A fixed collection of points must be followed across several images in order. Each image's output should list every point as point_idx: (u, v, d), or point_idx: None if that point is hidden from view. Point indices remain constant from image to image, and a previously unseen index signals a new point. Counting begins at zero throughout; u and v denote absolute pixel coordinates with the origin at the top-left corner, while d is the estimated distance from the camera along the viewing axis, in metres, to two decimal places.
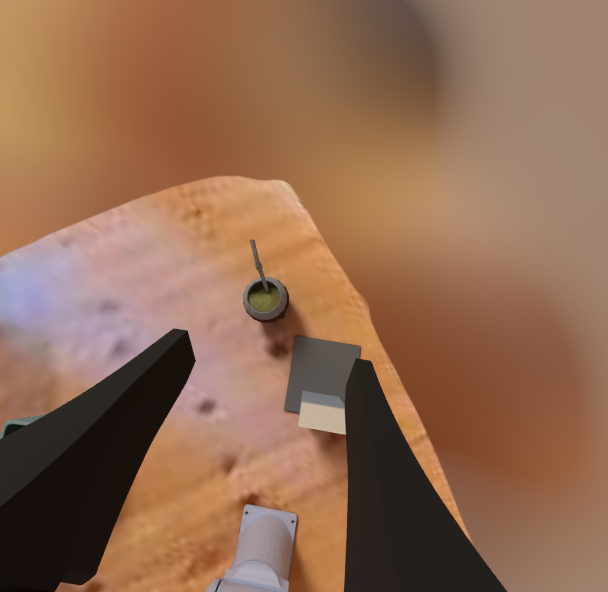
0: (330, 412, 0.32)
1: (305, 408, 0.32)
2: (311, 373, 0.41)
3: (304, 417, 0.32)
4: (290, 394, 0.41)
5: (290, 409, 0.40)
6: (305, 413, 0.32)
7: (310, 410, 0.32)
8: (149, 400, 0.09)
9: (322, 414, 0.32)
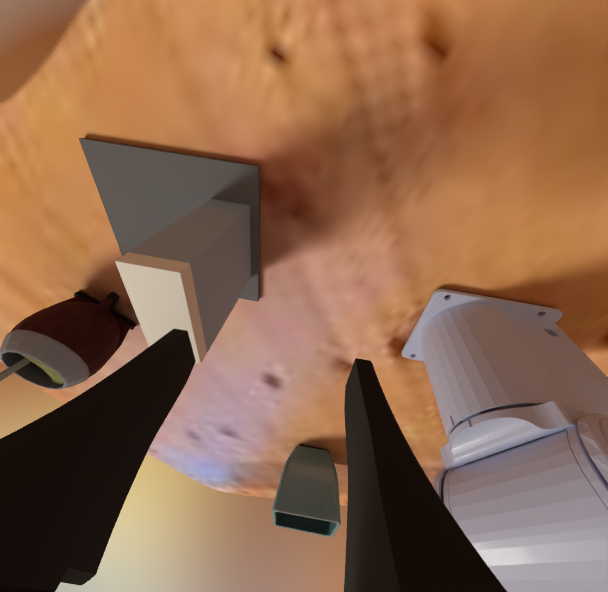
0: (142, 304, 0.12)
1: None
2: None
3: None
4: None
5: (255, 291, 0.22)
6: None
7: None
8: (149, 400, 0.09)
9: (155, 320, 0.12)
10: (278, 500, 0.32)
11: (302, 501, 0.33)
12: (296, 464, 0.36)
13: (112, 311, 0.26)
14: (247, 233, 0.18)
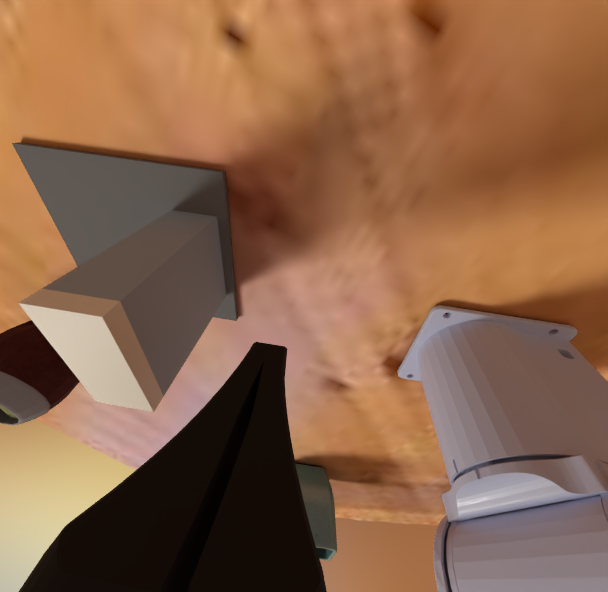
0: (67, 350, 0.09)
1: (102, 397, 0.11)
2: None
3: (125, 400, 0.11)
4: None
5: (232, 310, 0.20)
6: (114, 398, 0.11)
7: (100, 389, 0.11)
8: (247, 417, 0.09)
9: (89, 367, 0.10)
10: None
11: None
12: None
13: None
14: (216, 248, 0.16)
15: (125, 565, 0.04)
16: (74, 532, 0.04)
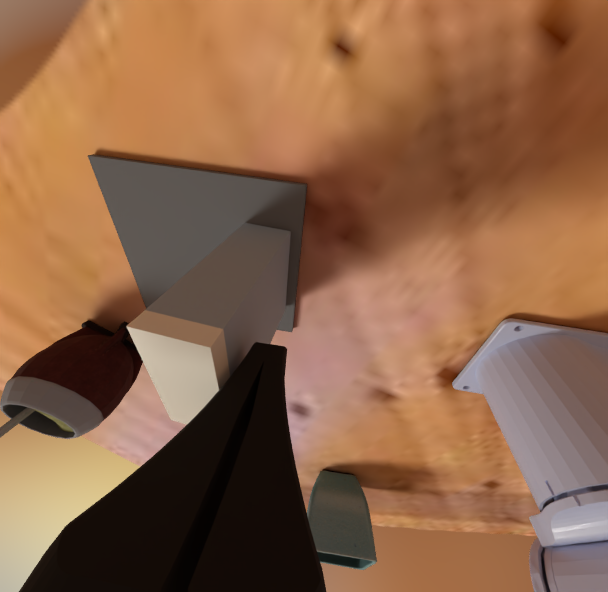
0: (160, 373, 0.09)
1: (179, 416, 0.11)
2: None
3: None
4: None
5: (289, 322, 0.19)
6: (191, 419, 0.11)
7: (179, 409, 0.11)
8: (247, 417, 0.09)
9: (176, 390, 0.10)
10: None
11: (333, 537, 0.30)
12: (323, 493, 0.34)
13: (124, 341, 0.24)
14: (286, 264, 0.15)
15: (125, 565, 0.04)
16: (74, 531, 0.04)
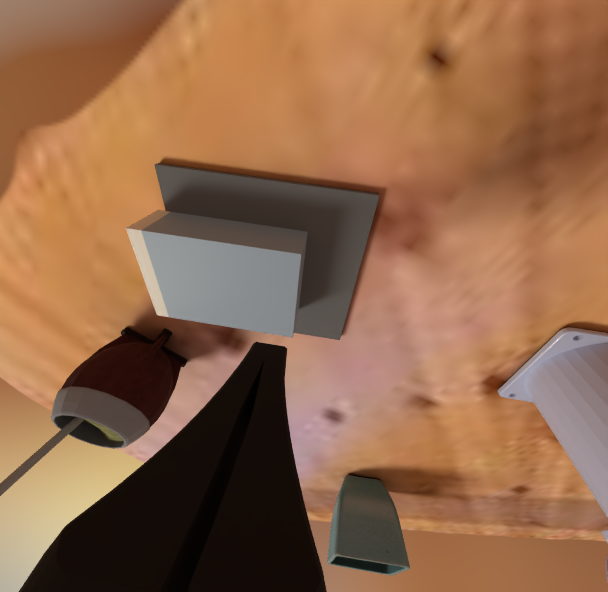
0: None
1: None
2: None
3: None
4: (309, 329, 0.19)
5: (338, 330, 0.19)
6: None
7: None
8: (247, 417, 0.09)
9: None
10: (339, 542, 0.30)
11: (365, 543, 0.30)
12: (351, 498, 0.34)
13: (162, 348, 0.24)
14: (287, 283, 0.13)
15: (125, 565, 0.04)
16: (74, 532, 0.04)
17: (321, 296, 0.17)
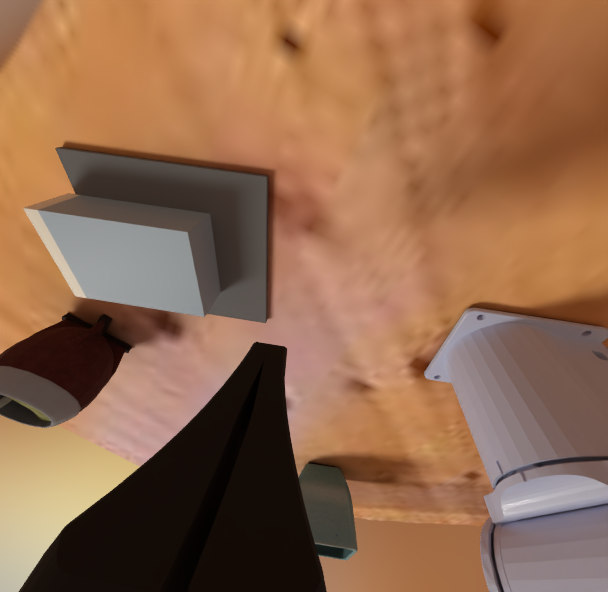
0: None
1: None
2: None
3: None
4: (234, 312, 0.20)
5: (262, 313, 0.20)
6: None
7: None
8: (247, 417, 0.09)
9: None
10: None
11: (315, 527, 0.31)
12: (307, 484, 0.34)
13: (105, 334, 0.24)
14: (183, 261, 0.14)
15: (125, 565, 0.04)
16: (74, 532, 0.04)
17: (238, 278, 0.18)
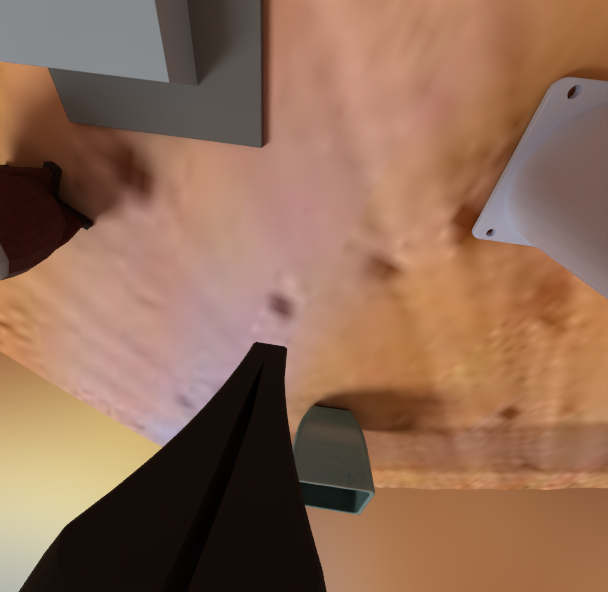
0: None
1: None
2: None
3: None
4: (218, 129, 0.15)
5: (256, 126, 0.14)
6: None
7: None
8: (247, 417, 0.09)
9: None
10: None
11: (323, 467, 0.25)
12: (313, 425, 0.29)
13: (55, 198, 0.19)
14: None
15: (125, 565, 0.04)
16: (74, 532, 0.04)
17: (221, 51, 0.13)
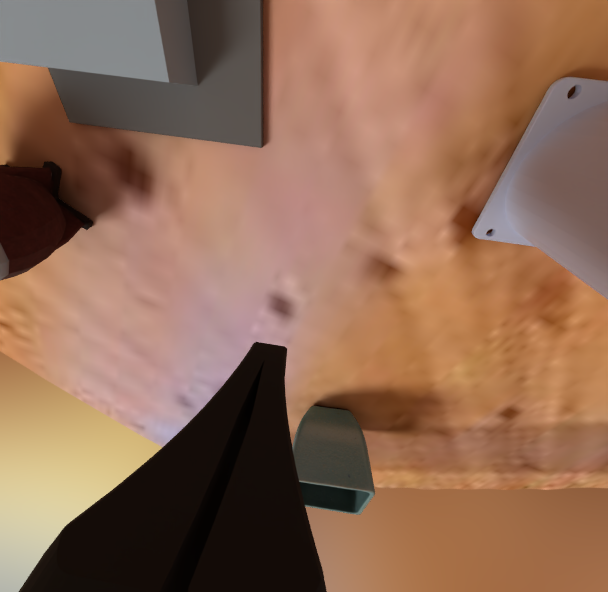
0: None
1: None
2: None
3: None
4: (218, 129, 0.15)
5: (256, 126, 0.14)
6: None
7: None
8: (247, 417, 0.09)
9: None
10: None
11: (323, 467, 0.25)
12: (313, 425, 0.29)
13: (55, 198, 0.19)
14: None
15: (125, 565, 0.04)
16: (74, 532, 0.04)
17: (221, 51, 0.13)
